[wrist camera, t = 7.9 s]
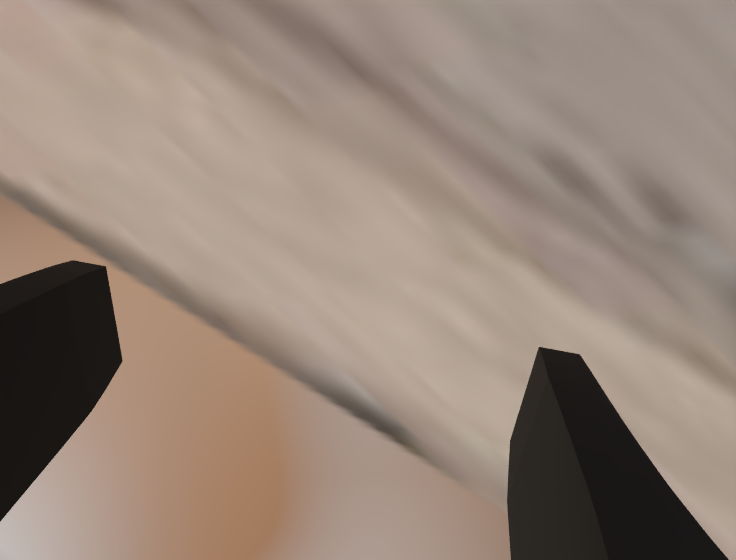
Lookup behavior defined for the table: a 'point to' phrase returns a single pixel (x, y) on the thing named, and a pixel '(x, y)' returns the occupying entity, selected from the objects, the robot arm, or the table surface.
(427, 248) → the table surface
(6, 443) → the robot arm
